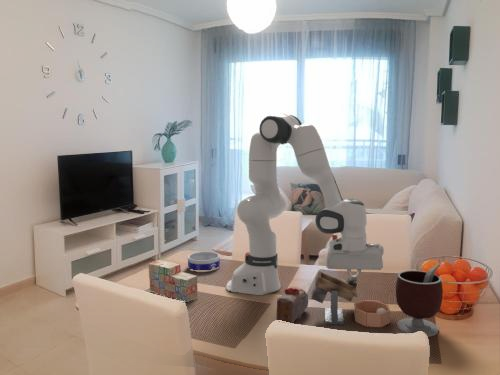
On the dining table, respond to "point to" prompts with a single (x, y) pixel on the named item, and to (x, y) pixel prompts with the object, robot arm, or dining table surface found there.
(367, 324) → the octagonal bowl
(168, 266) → the stack of blocks
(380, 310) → the ball
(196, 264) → the dog bowl
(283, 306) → the food item
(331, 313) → the chute stand
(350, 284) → the tipping chute
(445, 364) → the dining table surface
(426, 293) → the mate gourd
